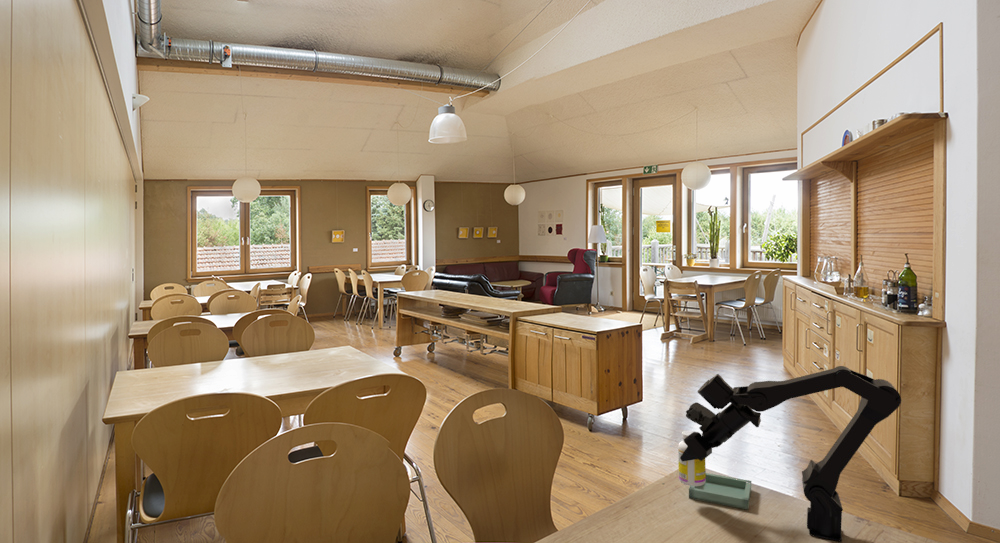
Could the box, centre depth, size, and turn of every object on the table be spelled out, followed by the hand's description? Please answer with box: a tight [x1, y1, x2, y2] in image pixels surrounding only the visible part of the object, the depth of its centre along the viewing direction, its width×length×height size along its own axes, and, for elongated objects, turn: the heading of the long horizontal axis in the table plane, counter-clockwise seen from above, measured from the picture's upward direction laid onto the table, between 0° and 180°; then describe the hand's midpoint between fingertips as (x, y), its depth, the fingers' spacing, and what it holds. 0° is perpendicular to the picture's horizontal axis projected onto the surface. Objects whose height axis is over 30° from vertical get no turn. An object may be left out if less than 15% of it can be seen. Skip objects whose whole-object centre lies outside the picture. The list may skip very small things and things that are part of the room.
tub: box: [688, 472, 752, 511], centre depth 153 cm, size 14×12×2 cm
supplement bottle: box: [677, 429, 707, 487], centre depth 148 cm, size 7×7×13 cm
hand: (686, 455), depth 149 cm, fingers closed on supplement bottle, 7 cm apart
